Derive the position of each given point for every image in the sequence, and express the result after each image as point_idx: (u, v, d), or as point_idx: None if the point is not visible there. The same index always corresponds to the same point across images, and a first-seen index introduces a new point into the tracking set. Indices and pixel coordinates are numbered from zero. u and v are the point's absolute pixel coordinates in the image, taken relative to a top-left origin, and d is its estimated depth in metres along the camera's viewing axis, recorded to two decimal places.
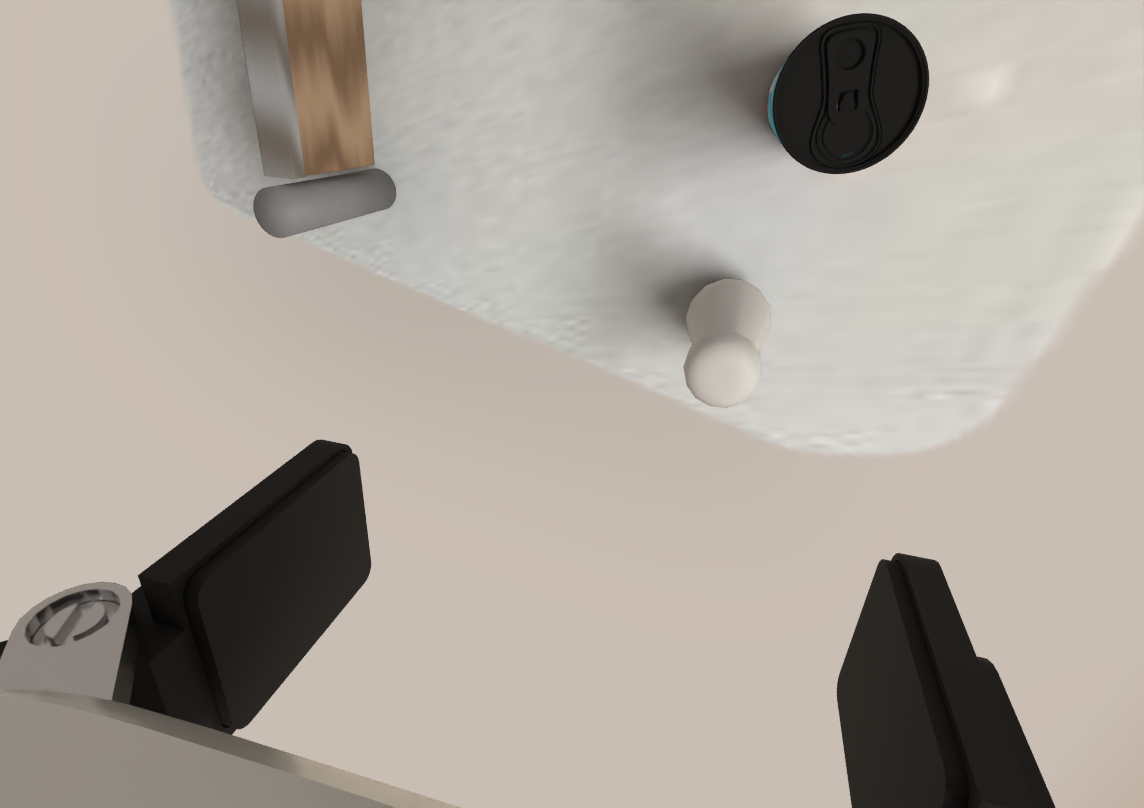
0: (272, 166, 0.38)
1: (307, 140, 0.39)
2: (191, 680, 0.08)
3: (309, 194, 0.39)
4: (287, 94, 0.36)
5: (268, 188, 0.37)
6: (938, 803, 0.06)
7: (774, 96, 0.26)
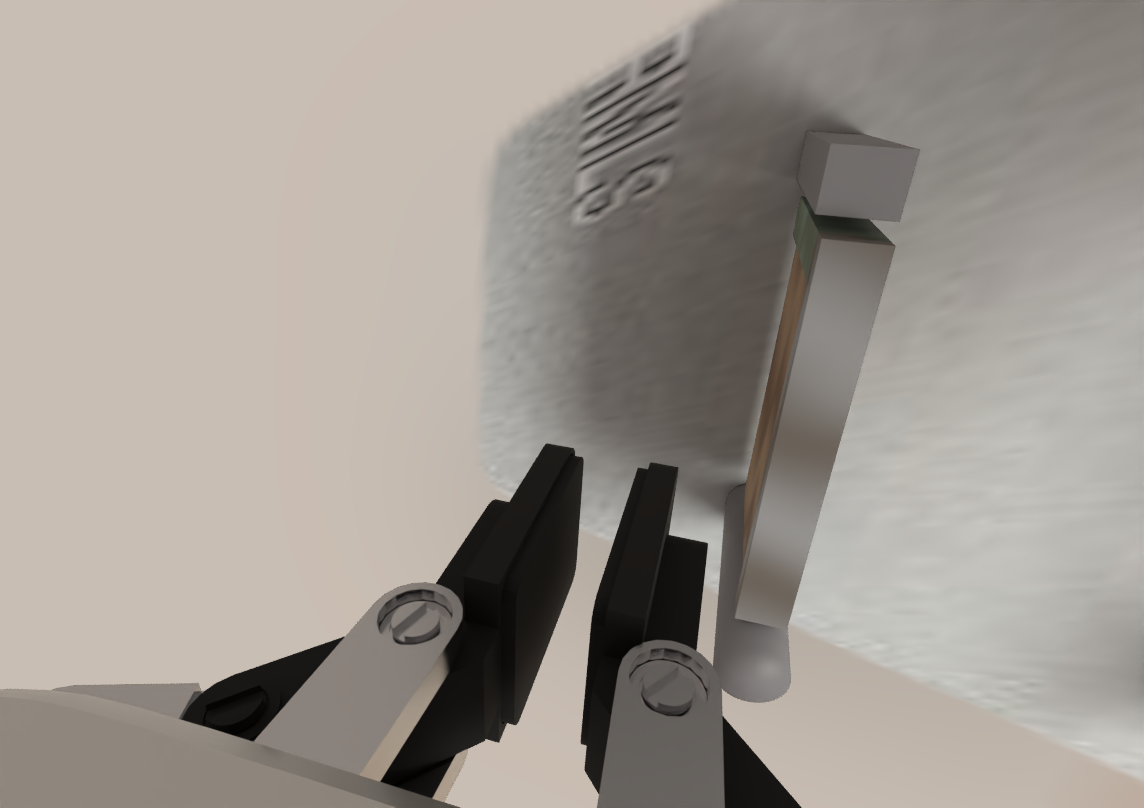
0: (755, 611, 0.24)
1: None
2: (495, 677, 0.09)
3: None
4: None
5: (753, 648, 0.24)
6: (593, 621, 0.08)
7: None
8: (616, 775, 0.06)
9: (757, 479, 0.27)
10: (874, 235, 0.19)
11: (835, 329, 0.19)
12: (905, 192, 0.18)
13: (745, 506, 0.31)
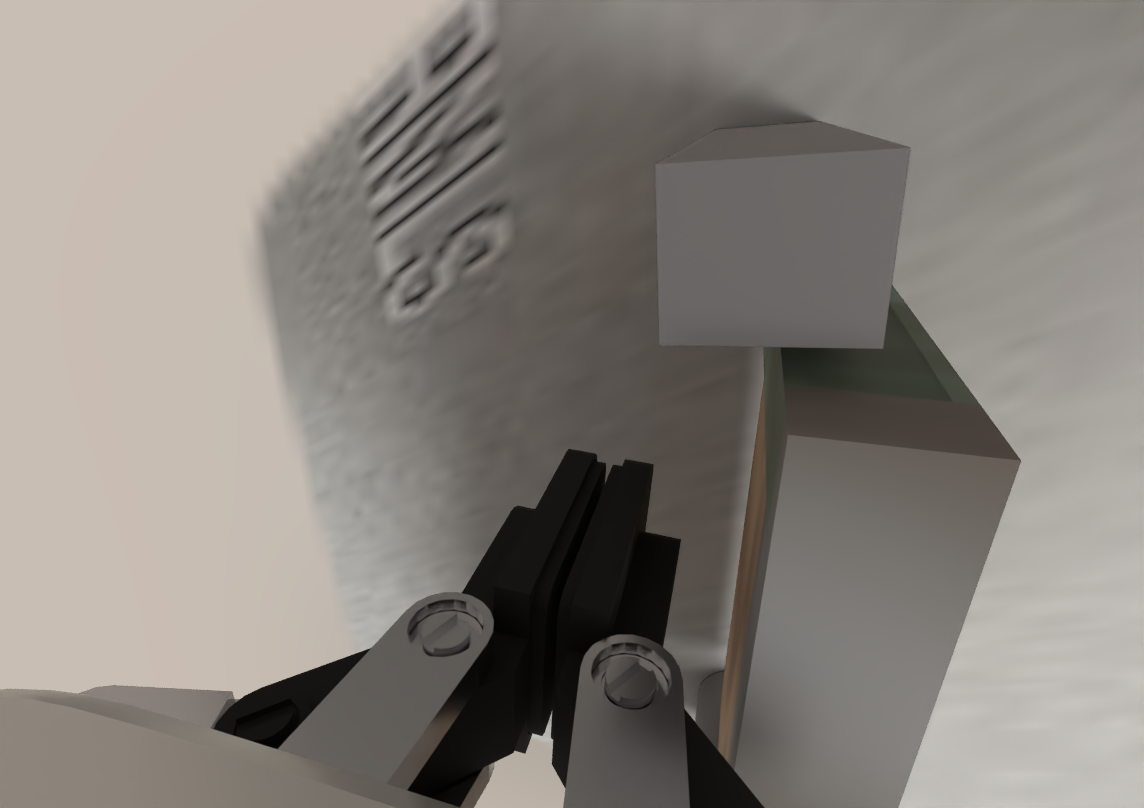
0: None
1: None
2: (524, 688, 0.09)
3: None
4: None
5: None
6: (559, 616, 0.08)
7: None
8: (572, 767, 0.06)
9: (725, 750, 0.15)
10: (938, 390, 0.07)
11: (846, 651, 0.07)
12: (886, 271, 0.06)
13: (718, 743, 0.19)
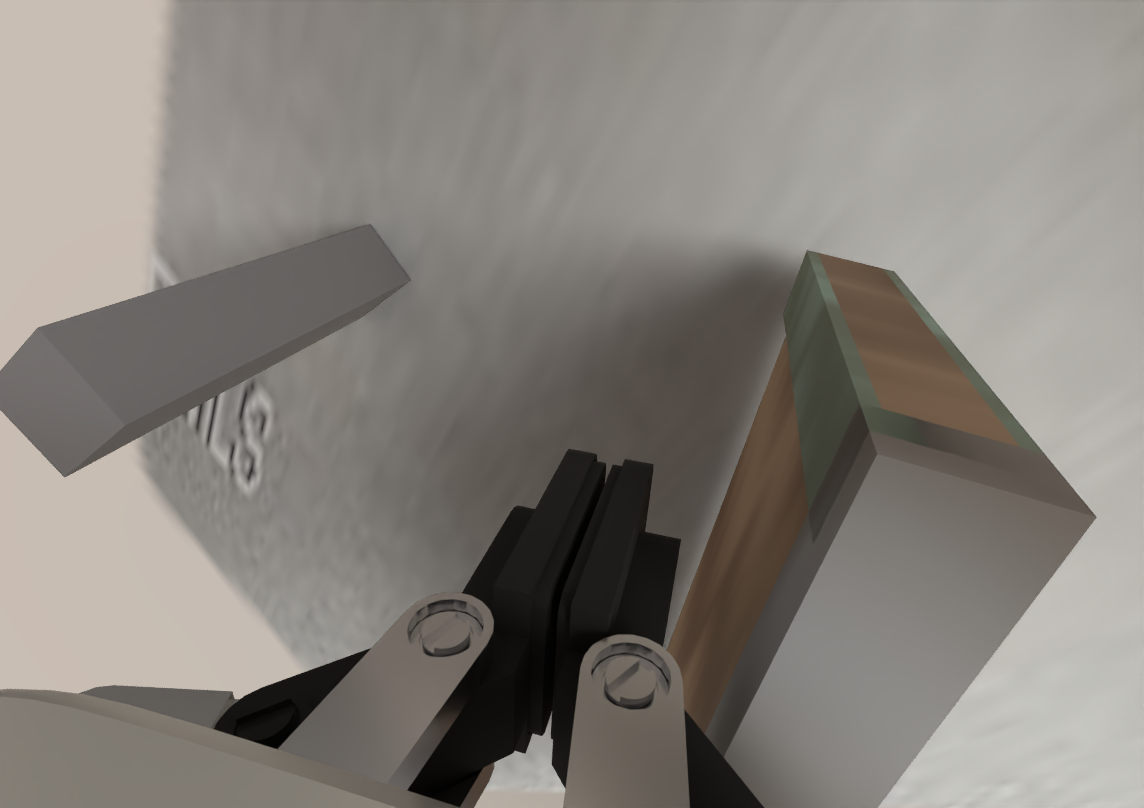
0: None
1: None
2: (524, 688, 0.09)
3: None
4: None
5: None
6: (559, 616, 0.08)
7: None
8: (571, 767, 0.06)
9: None
10: (1003, 432, 0.07)
11: (868, 667, 0.07)
12: (87, 387, 0.10)
13: None
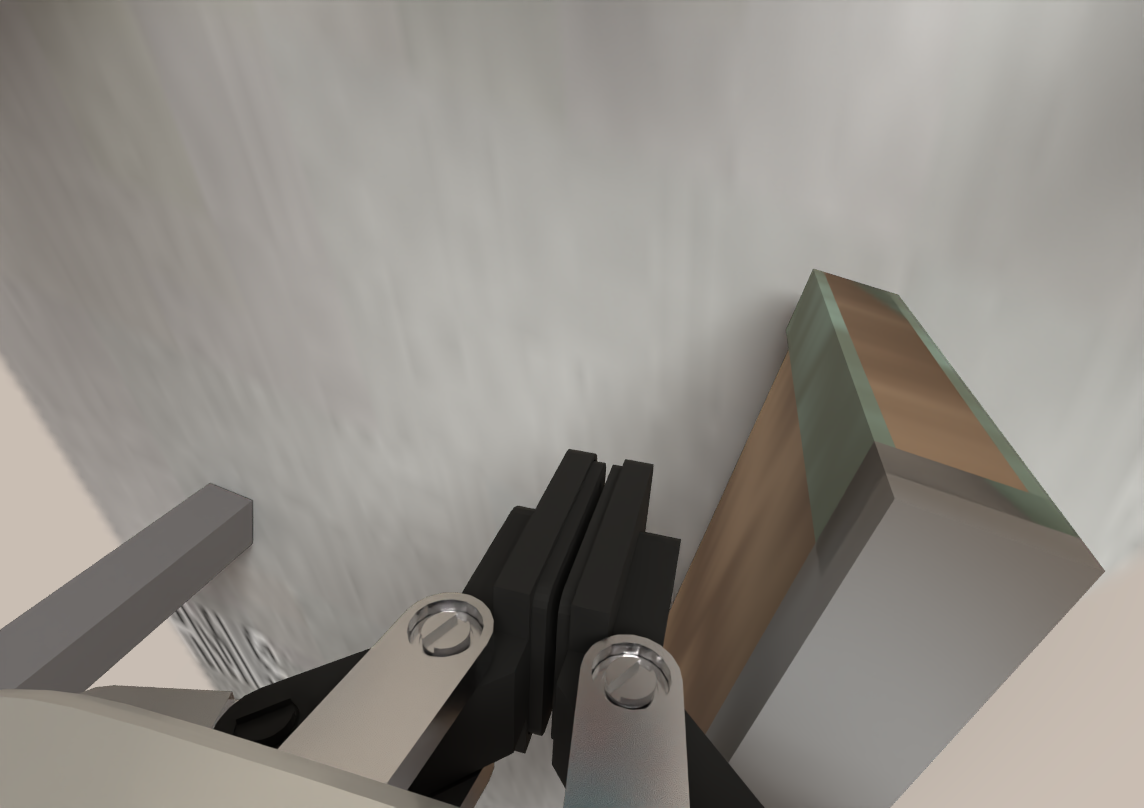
0: None
1: None
2: (524, 688, 0.09)
3: None
4: None
5: None
6: (559, 616, 0.08)
7: None
8: (571, 767, 0.06)
9: None
10: (1012, 476, 0.07)
11: (868, 701, 0.07)
12: None
13: None
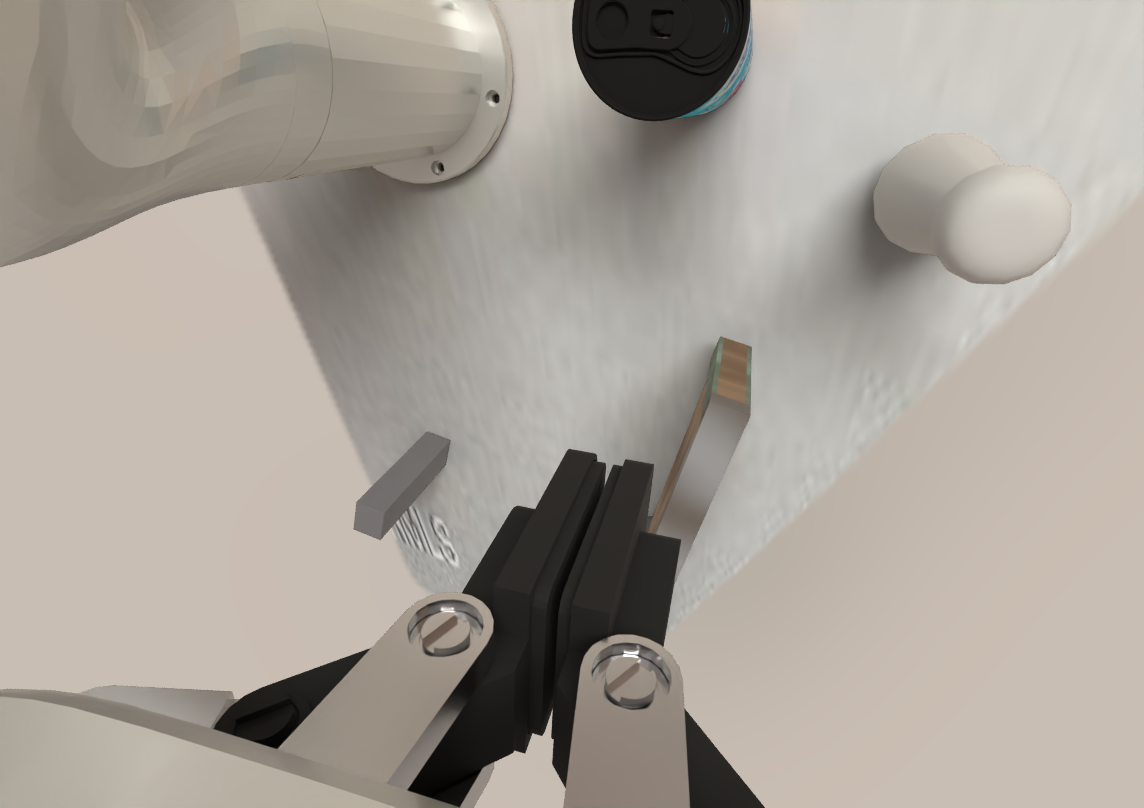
0: None
1: None
2: (524, 688, 0.09)
3: None
4: None
5: None
6: (560, 616, 0.08)
7: (634, 117, 0.22)
8: (572, 767, 0.06)
9: (656, 522, 0.39)
10: (744, 400, 0.31)
11: (710, 453, 0.31)
12: (372, 509, 0.40)
13: None
